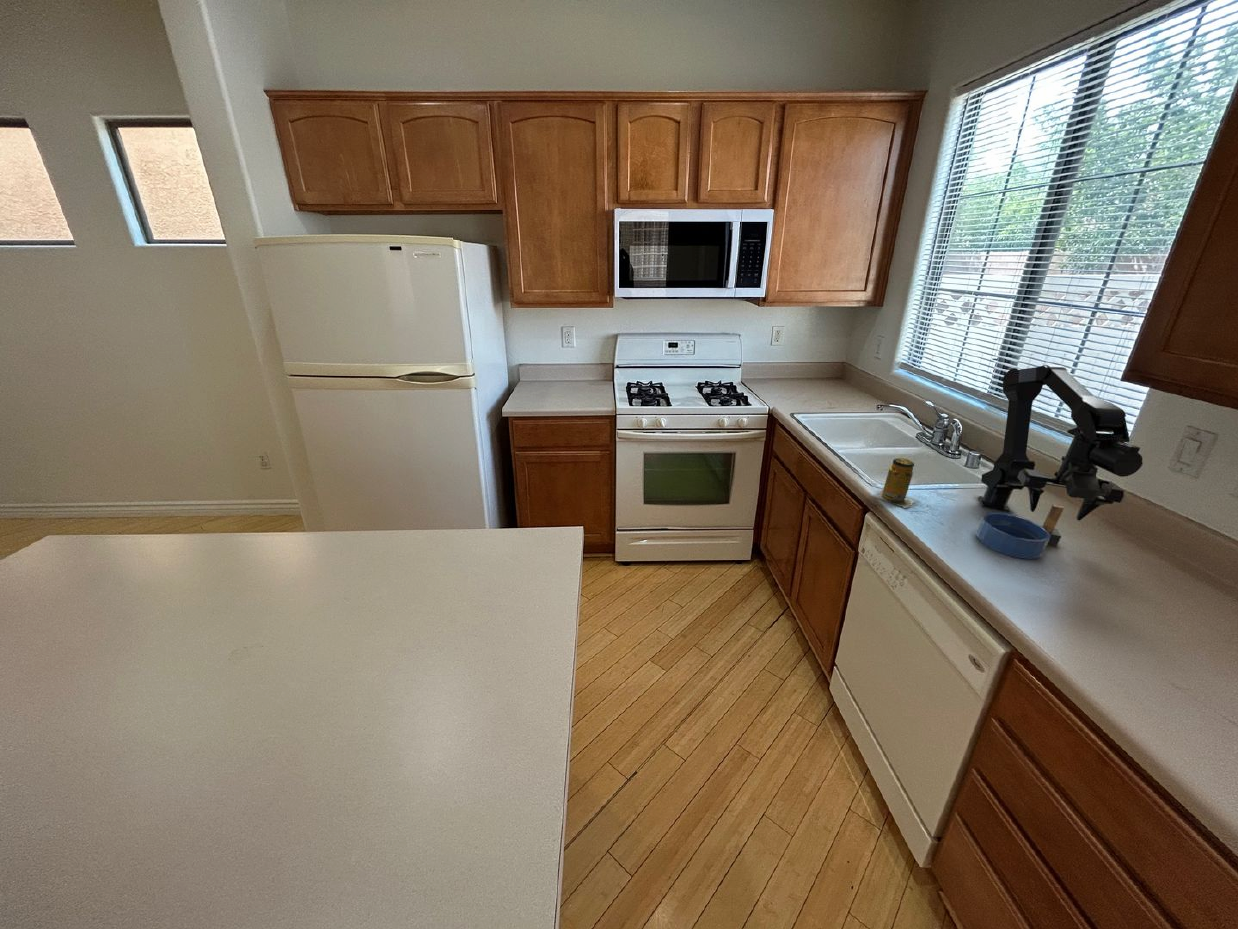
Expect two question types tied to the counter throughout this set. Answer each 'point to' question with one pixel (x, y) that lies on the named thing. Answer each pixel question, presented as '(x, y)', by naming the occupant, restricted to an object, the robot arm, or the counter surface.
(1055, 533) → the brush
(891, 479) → the condiment
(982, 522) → the bowl
